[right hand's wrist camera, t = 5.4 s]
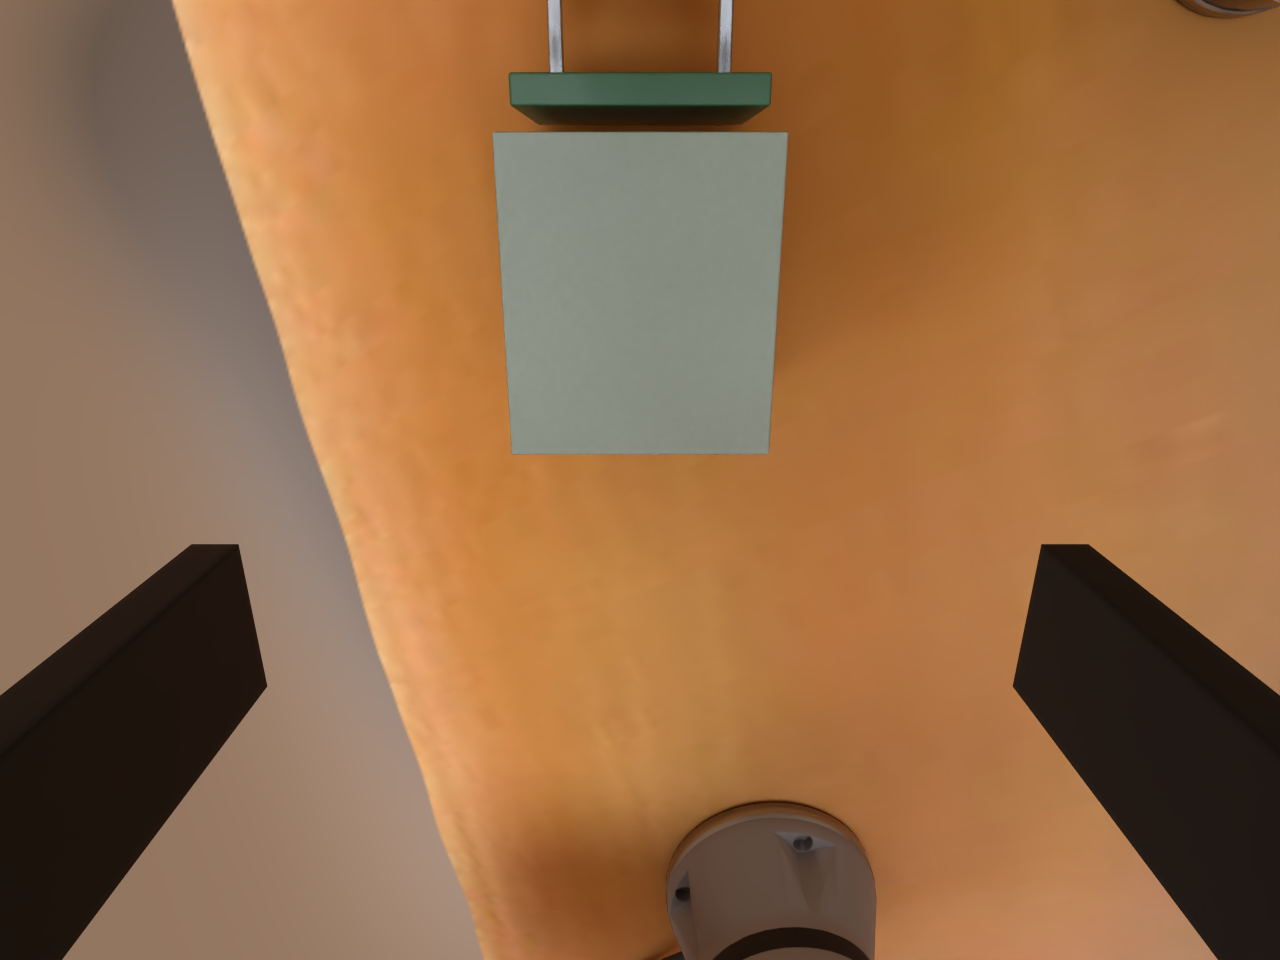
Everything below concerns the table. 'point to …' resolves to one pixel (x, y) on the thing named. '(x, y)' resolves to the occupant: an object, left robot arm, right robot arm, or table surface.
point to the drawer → (640, 88)
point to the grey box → (640, 289)
